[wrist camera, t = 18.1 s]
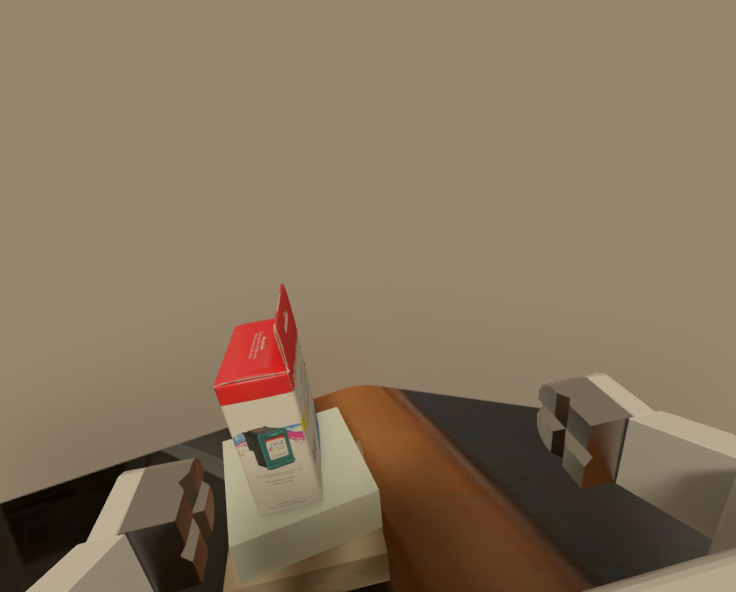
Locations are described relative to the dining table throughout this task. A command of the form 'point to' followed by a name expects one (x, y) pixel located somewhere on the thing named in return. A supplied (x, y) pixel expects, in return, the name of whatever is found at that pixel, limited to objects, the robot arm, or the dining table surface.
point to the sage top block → (302, 507)
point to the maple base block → (324, 568)
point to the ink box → (272, 412)
